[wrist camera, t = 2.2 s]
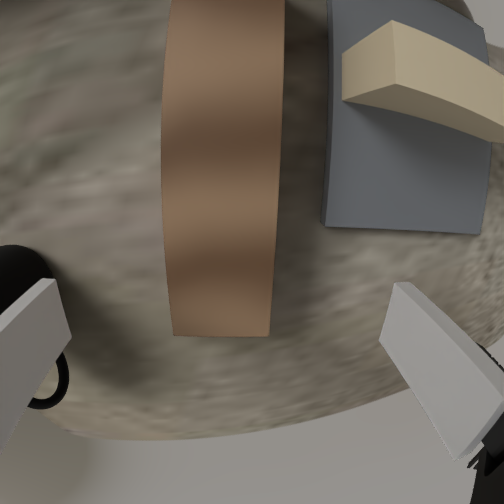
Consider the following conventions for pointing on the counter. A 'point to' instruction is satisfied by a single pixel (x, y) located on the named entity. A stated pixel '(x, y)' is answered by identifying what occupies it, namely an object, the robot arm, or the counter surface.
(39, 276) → the mug
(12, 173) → the counter surface
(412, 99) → the fulcrum
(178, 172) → the beam
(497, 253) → the counter surface
